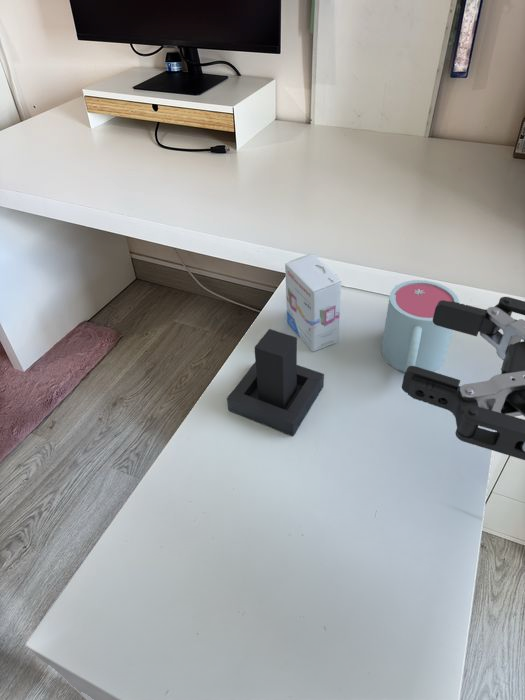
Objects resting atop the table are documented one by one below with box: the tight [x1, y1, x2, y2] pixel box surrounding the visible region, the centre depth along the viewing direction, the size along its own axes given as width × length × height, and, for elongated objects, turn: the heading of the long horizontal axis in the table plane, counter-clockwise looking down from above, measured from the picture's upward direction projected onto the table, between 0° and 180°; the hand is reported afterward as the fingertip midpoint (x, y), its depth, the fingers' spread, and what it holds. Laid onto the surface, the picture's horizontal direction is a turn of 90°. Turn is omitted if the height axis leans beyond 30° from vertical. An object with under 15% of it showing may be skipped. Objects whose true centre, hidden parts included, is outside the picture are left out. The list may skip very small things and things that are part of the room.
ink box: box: [284, 253, 342, 352], centre depth 76 cm, size 9×5×12 cm, turn 27°
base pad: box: [226, 361, 325, 437], centre depth 70 cm, size 10×10×3 cm
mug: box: [380, 279, 460, 375], centre depth 71 cm, size 14×9×10 cm
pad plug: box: [254, 328, 298, 409], centre depth 67 cm, size 4×4×10 cm
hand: (420, 342), depth 40 cm, fingers open, 8 cm apart
